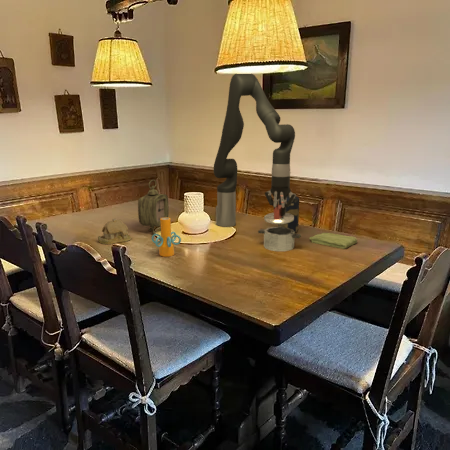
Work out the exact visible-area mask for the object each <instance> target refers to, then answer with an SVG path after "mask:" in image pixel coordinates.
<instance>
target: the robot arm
mask: <svg viewBox="0 0 450 450" xmlns="http://www.w3.org/2000/svg"><path fill="white" fill-rule="evenodd" d="M244 96H246V97H247V96H251V98H252V99H253V100H255V112H256V114H257V116H258V118H259V120H260V121H261V122H262V124H263V125H264V127H265V130H266V133H267V136H268V138H269V139H270V141H271V142H273V143H276V144H279V147H277V148H274V149H273V152H272V165H271V187H270V189H269V190H267V191H265V192H264V195H265V197H266V200H267V201H268V204H269V206H272V207H273V210H274V209H275V208H276V207H277V206H278V205H279V199H281V203H282V208H281V217H283V216H284V215H285V214H286V207H289V206H290V205H291V203H292V202H293V200H294V198H295V197H296V196H297V193H293V192H292V190H291V188H290V186H291V152H292V149H293V145H294V142H295V137H296V131H295V128H294V127H293V126H292V125H291V124H288V123H286V124H280V123H281V117H280V116H281V115H279V113H278V112H277V110H276V109H275V108H274V106H273V105H272V104H271V102H270V101H269V99H268V97H267V96H266V93H265V91H264V89H263V88H262V85H261V83H260V81H259V80H258V77H256V75H255V74H254V73H251V74H237V73H234V74H233V75H232V76H231V79H230V83H229V88H228V98H227V106H226V111H225V117H224V121H223V125H222V131H221V137H220V142H219V146H218V150H217V154H216V156H215V159H214V164H213V175H214V176H215V178H217V179H225V180H224V181H223V182H222V183H220V184H218V185H217V187H216V192H217V193H216V195H217V196H216V197H217V198H216V199H217V202H216V203H217V205H216V206H215V225H216V226H218V227H222V228H223V227H226V228H229V227H230V228H231V227H235V226H236V224H237V223H236V212H237V211H236V208H237V206H236V203H237V201H236V198H237V197H236V195H237V194H236V193H237V185H238V164H237V161H236V159H234V158H228V156H229V154H230V152H231V151H232V150H234V149H233V148H235V147H236V145H237V144H238V143H239V142H240V141H241V139H242V135H243V131H244V128H245V127H244V126H245V123H244V122H245V121H244V118H243V116H242V115H243V114H242V113H241V111H240V102H241V99H242V97H244ZM288 195H290V196H289V197H290V199H289V201H288V202H287V204H286V201H287V200H286V197H287V196H288ZM272 196H273V197H272Z"/></svg>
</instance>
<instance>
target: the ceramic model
mask: <svg viewBox="0 0 450 450" xmlns="http://www.w3.org/2000/svg"><path fill="white" fill-rule="evenodd" d="M128 230H129V228H128V226H127V224H126V223H124V222H123V221H122V220H121V219H116V218H112V220H110V221H107V223H106V224H104V225H103V227H102V229H101V232H102V235H98V236H97V240H98V243H100V244H103V245H104V244H105V245H112V244H116V243H117V244H118V243H121V242H122V243H123V242H128V241H130V240H131V239H132V236H130V235H129V232H128Z"/></svg>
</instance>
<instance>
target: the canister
mask: <svg viewBox="0 0 450 450" xmlns="http://www.w3.org/2000/svg"><path fill="white" fill-rule="evenodd" d="M289 196H290V194H289V195H288V196H287V197H286V200H287V201H286V204H287V202H288V201H289V199H290V197H289ZM278 205H282V203H281V199H279V203H278ZM299 212H300V197H299V196H297V195H296V197H295V198H294V200H293V202H292V203H291V205H290V206H289V207H286V213H289V214H292V215H293V216H294V220H293V221H292V222H290V223H286V224H280V225H278V224H277V225H278V226H277V227H285V228H290V229H293V230H294V231H295V233H297V232H298V230H299V223H300V222H299V219H300V218H299V217H300V214H299Z"/></svg>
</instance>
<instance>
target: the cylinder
mask: <svg viewBox="0 0 450 450" xmlns="http://www.w3.org/2000/svg"><path fill="white" fill-rule="evenodd" d="M171 220H172V219H171V217H168V218H161V219H160V223H161V226H160V234H159V233H156V234H152V236H151V241H152V242H153V244H155V246H156V247H157V248H158V250H159V252H158V253H159V254H158V255H159V256H160V257H164V258H169V257H172V256H174V255H175V246H178V245H180V244H181V242H182V238H181V236H180V235H178V234H177V233H176V231H172V222H171ZM155 236H157V237H156V239H154V238H155ZM177 238H178V242H175V241H176V239H177Z"/></svg>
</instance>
